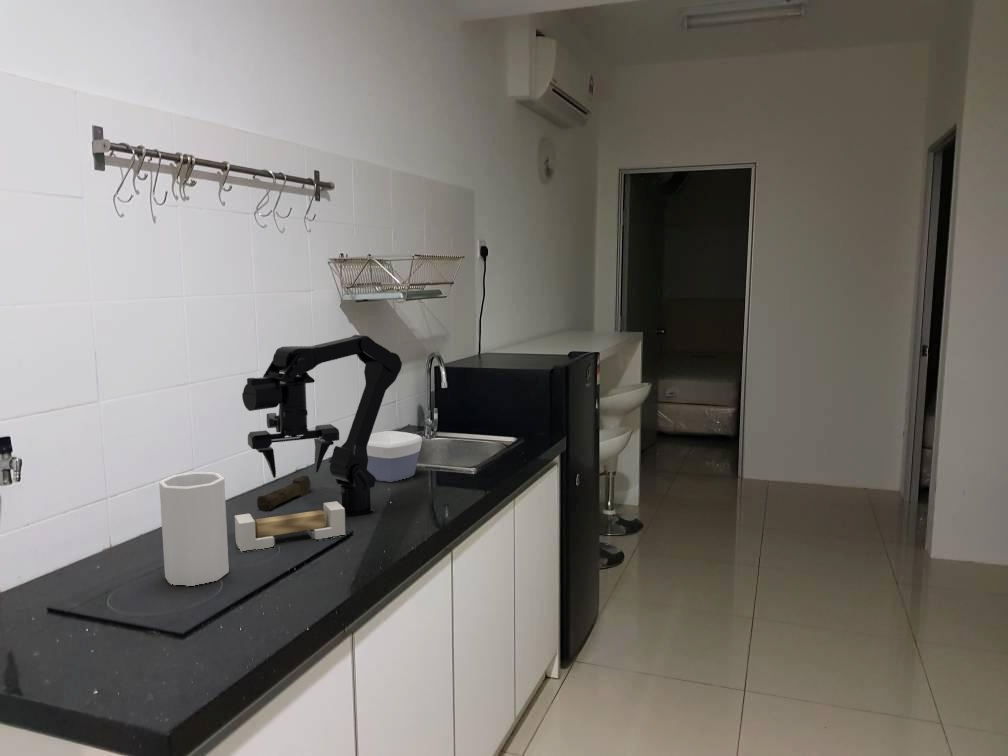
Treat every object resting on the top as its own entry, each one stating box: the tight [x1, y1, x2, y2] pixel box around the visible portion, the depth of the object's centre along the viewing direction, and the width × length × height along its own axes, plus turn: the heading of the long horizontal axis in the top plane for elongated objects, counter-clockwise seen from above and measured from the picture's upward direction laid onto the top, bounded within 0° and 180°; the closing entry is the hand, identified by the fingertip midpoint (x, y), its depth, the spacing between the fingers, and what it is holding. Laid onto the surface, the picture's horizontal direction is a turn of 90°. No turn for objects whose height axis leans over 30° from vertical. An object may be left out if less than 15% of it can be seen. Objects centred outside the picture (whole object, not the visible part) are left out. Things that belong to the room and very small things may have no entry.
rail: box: [254, 509, 326, 538], centre depth 163 cm, size 14×3×5 cm, turn 118°
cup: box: [159, 471, 230, 587], centre depth 142 cm, size 11×11×18 cm
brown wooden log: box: [256, 475, 312, 512], centre depth 190 cm, size 19×4×5 cm, turn 157°
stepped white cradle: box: [234, 501, 346, 553], centre depth 163 cm, size 22×7×6 cm, turn 118°
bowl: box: [367, 430, 423, 483], centre depth 213 cm, size 15×15×11 cm
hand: (295, 474), depth 169 cm, fingers open, 9 cm apart
